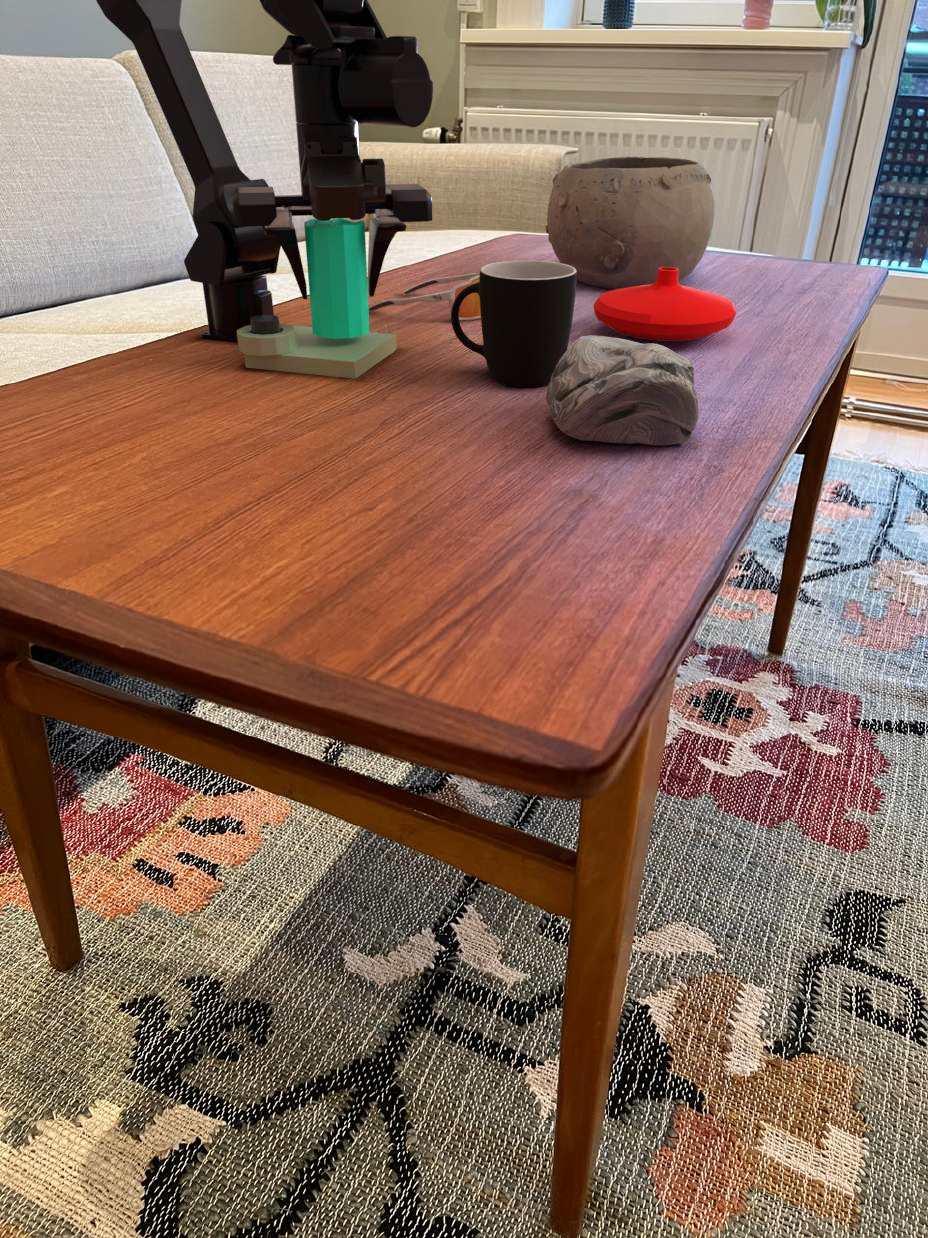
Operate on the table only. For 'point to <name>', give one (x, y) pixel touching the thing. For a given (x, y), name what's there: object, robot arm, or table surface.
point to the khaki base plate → (314, 351)
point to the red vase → (664, 310)
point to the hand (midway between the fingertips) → (338, 297)
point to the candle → (337, 277)
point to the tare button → (265, 324)
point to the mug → (522, 319)
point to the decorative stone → (623, 393)
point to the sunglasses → (442, 296)
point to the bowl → (630, 218)
